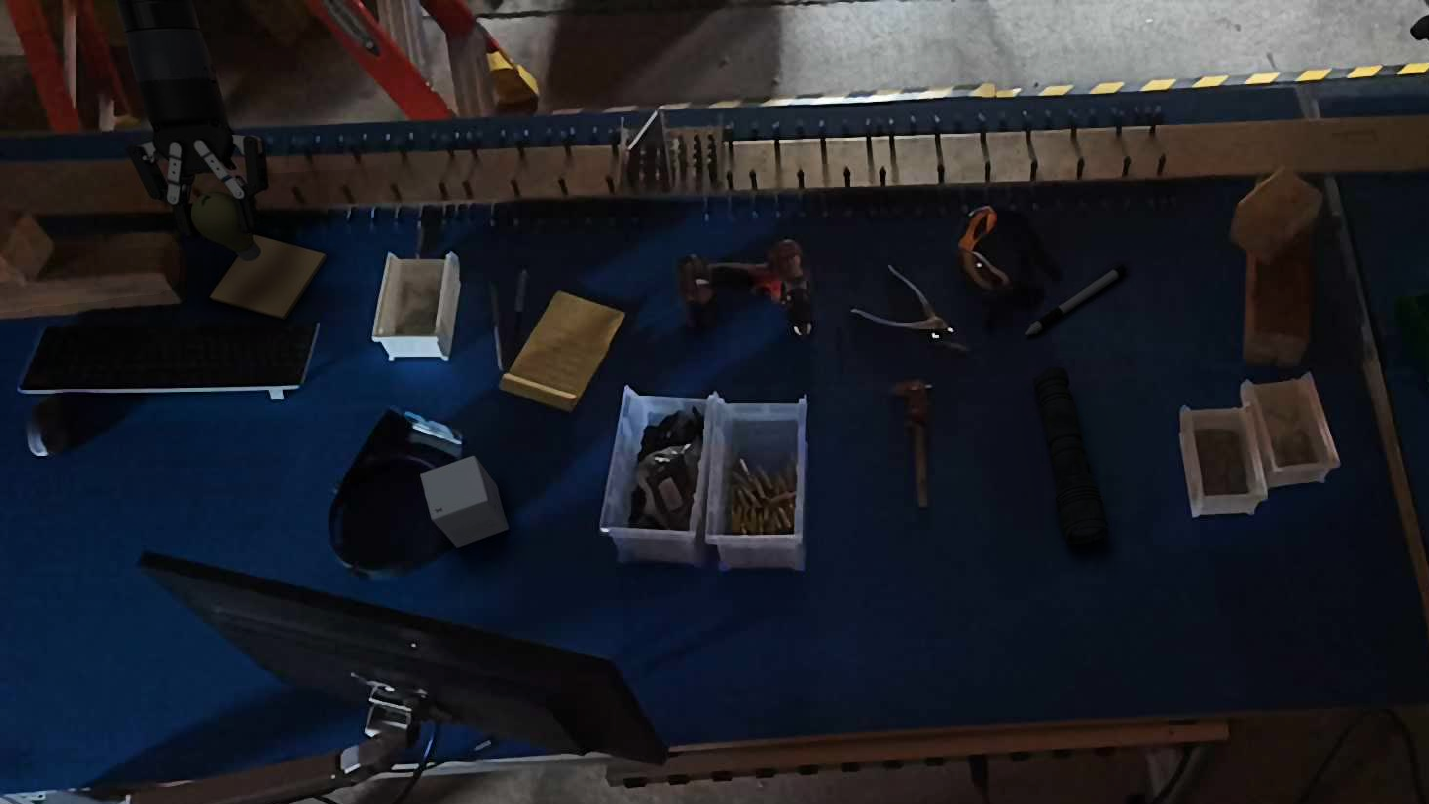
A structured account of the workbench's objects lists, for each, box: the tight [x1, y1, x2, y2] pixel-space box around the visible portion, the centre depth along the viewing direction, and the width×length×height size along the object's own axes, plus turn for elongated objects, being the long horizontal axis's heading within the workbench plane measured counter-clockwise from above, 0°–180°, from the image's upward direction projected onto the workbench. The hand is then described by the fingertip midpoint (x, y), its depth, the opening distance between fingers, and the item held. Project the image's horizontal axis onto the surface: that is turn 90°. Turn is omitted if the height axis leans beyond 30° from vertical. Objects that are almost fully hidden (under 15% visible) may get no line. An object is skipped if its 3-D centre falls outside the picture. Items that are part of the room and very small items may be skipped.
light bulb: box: [191, 191, 261, 261], centre depth 131 cm, size 6×6×10 cm
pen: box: [1024, 264, 1127, 336], centre depth 138 cm, size 1×16×1 cm, turn 129°
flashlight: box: [1032, 365, 1109, 546], centre depth 127 cm, size 5×21×5 cm, turn 9°
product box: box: [419, 455, 510, 548], centre depth 122 cm, size 6×6×7 cm
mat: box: [209, 234, 328, 321], centre depth 139 cm, size 10×10×1 cm
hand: (222, 234), depth 129 cm, fingers closed on light bulb, 5 cm apart
